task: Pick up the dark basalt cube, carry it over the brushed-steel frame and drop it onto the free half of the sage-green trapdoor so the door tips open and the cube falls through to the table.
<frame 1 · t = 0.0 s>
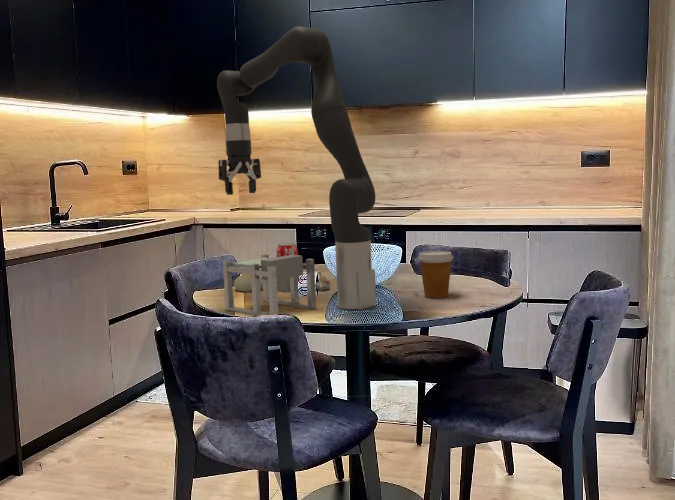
hand: (241, 193, 204), 29 cm above the table, fingers open, 8 cm apart
trapdoor: (267, 265, 176), point 12 cm above the table, hinge at 0.0°
soda can: (288, 280, 222), on the table
frame: (276, 310, 176), on the table
disposable coffee cup: (436, 296, 186), on the table
basalt cube: (288, 290, 204), on the table
sea urchin shell: (249, 290, 208), on the table
figurine: (323, 290, 202), on the table
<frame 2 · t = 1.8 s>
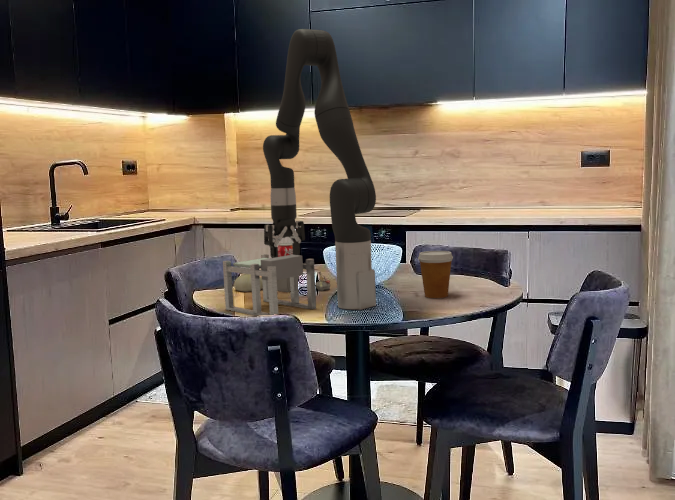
hand: (285, 257, 203), 10 cm above the table, fingers open, 8 cm apart
nothing on the table moved.
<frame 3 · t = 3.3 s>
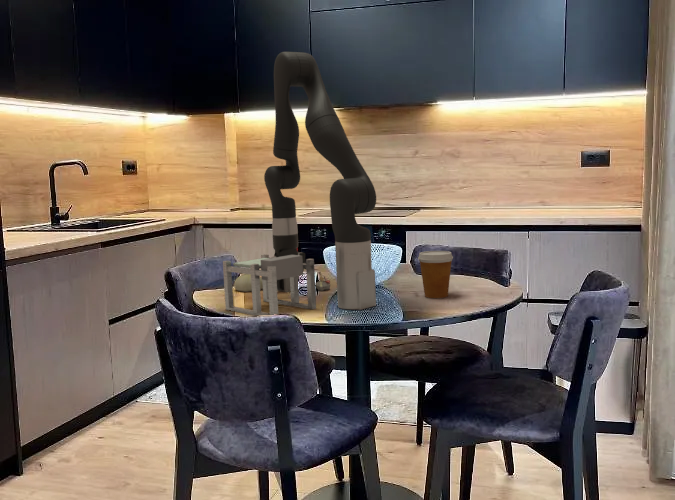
hand: (287, 288, 204), 0 cm above the table, fingers closed on basalt cube, 5 cm apart
basalt cube: (288, 290, 204), on the table, touching gripper
everything else where it was.
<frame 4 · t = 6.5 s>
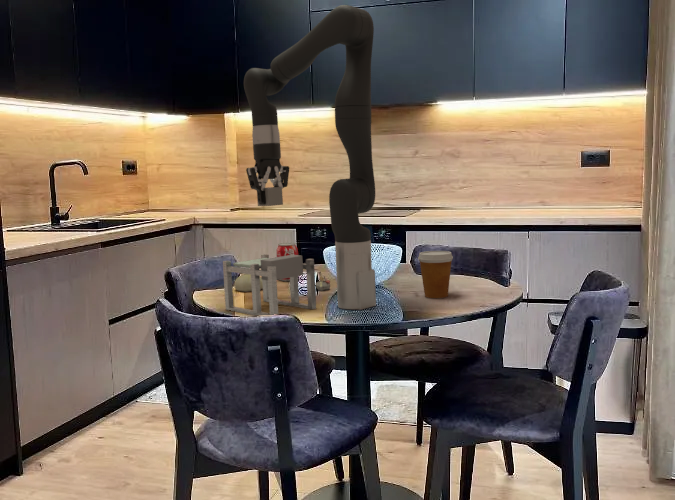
hand: (270, 203, 190), 27 cm above the table, fingers closed on basalt cube, 5 cm apart
basalt cube: (270, 205, 190), point 26 cm above the table, touching gripper
everything else where it was.
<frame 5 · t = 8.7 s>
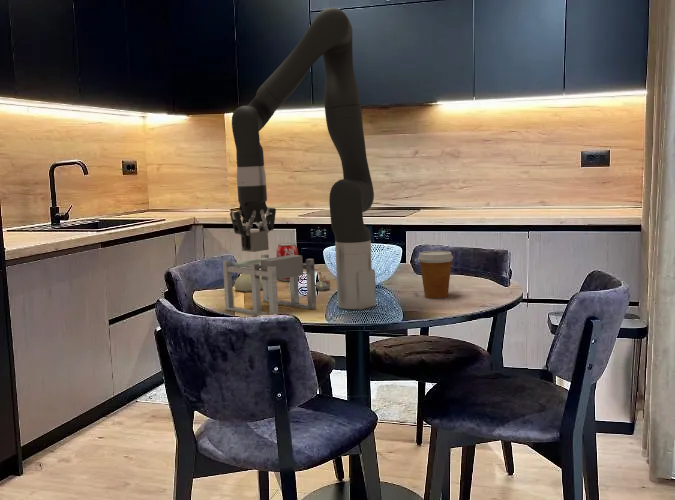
hand: (255, 248, 179), 16 cm above the table, fingers closed on basalt cube, 5 cm apart
basalt cube: (255, 250, 179), point 15 cm above the table, touching gripper
everything else where it was.
when the fingers open (16 cm above the table, at t = 9.3 s): basalt cube drops 13 cm and tips over, point 2 cm above the table.
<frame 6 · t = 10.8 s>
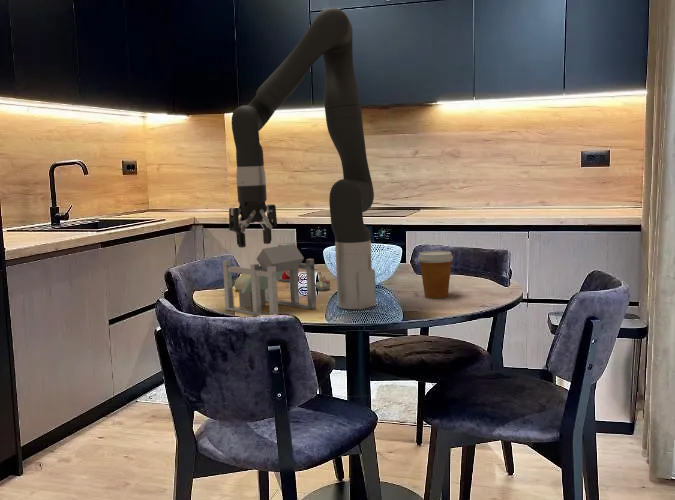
hand: (254, 245, 179), 17 cm above the table, fingers open, 8 cm apart
trapdoor: (270, 272, 176), point 10 cm above the table, hinge at -44.1°
basalt cube: (258, 298, 181), point 2 cm above the table, tilted 90°
everything else where it was.
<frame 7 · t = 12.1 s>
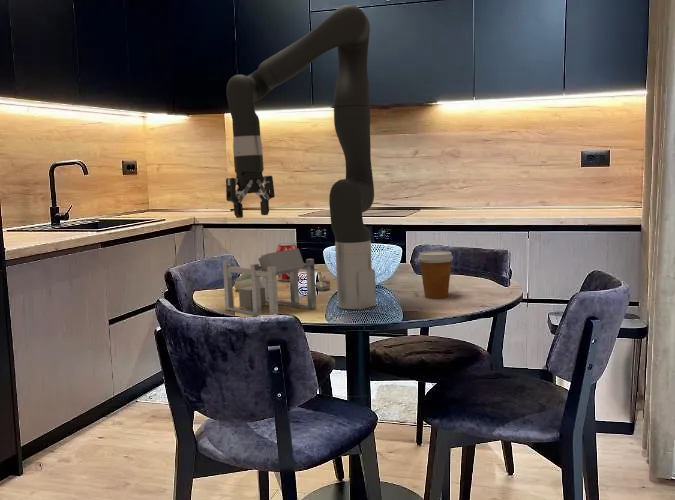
hand: (252, 216, 178), 24 cm above the table, fingers open, 8 cm apart
trapdoor: (269, 269, 176), point 10 cm above the table, hinge at -23.3°
everything else where it was.
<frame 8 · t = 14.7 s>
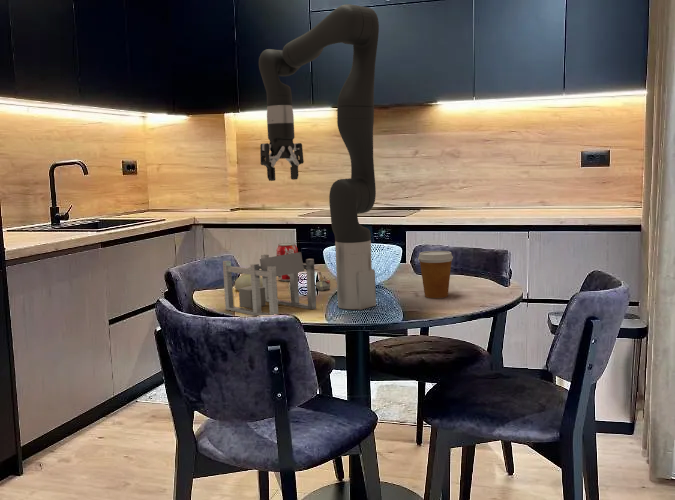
hand: (283, 180, 194), 33 cm above the table, fingers open, 8 cm apart
trapdoor: (268, 267, 176), point 11 cm above the table, hinge at -11.0°
everything else where it was.
at the end: basalt cube point 2.4 cm above the table; basalt cube inside the target area (0.8 cm from its centre), point 2.4 cm above the table; the gripper is holding nothing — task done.
